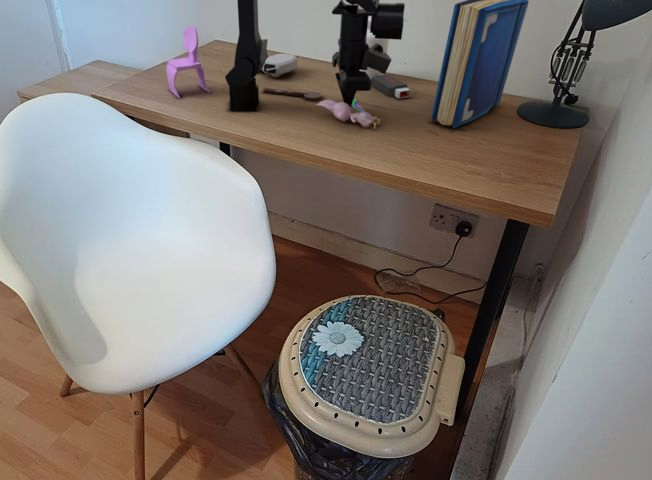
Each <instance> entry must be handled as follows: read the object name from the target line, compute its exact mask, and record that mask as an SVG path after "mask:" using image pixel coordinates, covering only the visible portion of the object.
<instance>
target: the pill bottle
mask: <svg viewBox="0 0 652 480" xmlns="http://www.w3.org/2000/svg"><path fill="white" fill-rule="evenodd" d="M371 17H372V16H368V27H367V39H366V43H367V44H368V45H369V48H370V47H372V46H373V45H375V44H376V43H377V44H380V45H382V47H383V53H384V52H385V53H386V54H387V55H388V49H389V42H390V39H378V38H375V35H373V33H370V27H371ZM360 71H363V72H366V73H367V74H368V75H369V77H370V79H371V78H372V77H373V76H377V75H384V74H382V73H380V71H377V70H374V69H372V68H369V67H368V69H367V70H360Z"/></svg>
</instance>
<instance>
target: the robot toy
mask: <svg viewBox="0 0 652 480" xmlns="http://www.w3.org/2000/svg"><path fill="white" fill-rule="evenodd" d="M298 58H303V55H302V54H301V55H298V56H296V55H295V54H290V53H276V54H273V55H269V54H268V58H267V59H266V61H265V64H264V66H263V67H262V68H261V70H260V71H262V72H264V73H265V74H268V75H270V76H272V77H273V78H278V77H281V76H282V75H285V74H287V73H290V72H292V71H294V70H295V69H296V68H297V66H298Z"/></svg>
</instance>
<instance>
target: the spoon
mask: <svg viewBox="0 0 652 480" xmlns="http://www.w3.org/2000/svg"><path fill="white" fill-rule="evenodd" d="M262 92H263V93H267V94H274V95H275V94H276V95H283V96H291V97H299V98H303V100H305V101H308V102H318V101H319V102H320V101H322V94H321V92H319V91H306V92H301V91H295V90H294V91H293V90H286V89H280V88H279V89H278V88H277V89H276V88H270V87H264V88H263V89H262Z"/></svg>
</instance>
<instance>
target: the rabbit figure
mask: <svg viewBox="0 0 652 480" xmlns="http://www.w3.org/2000/svg"><path fill="white" fill-rule="evenodd" d="M359 102H360V99H358V98H354V100H353V102H352V105H351V107H350V106H349V105H348V104H346V103H344V101H343V102H341V101H340V102H337V101H335V100H333V99H324V100H320V101H319V102H318V103H316V106H320V107H323V108H325V109H327V110H328V111H330V112H331V113H332V114H333V117H335V118H336V119H338V120H340V121H341V122H343V123H345V122H346V121H349V120H351V122H352V123H354V124H355V123H359V124H360V125H361V126H362V128H370V127H371V125H372V124H373V130H375V129H376V127H377V125H380V122H381V118H378V116H372V115H371V114H370V113H369V112H367V111H366V110H364V109H363V107H362V106H361V105H360V104H359ZM352 107H353V109H354V110H357V111H358V112H355V113H354V112H352ZM375 120H377V121H375Z"/></svg>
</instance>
